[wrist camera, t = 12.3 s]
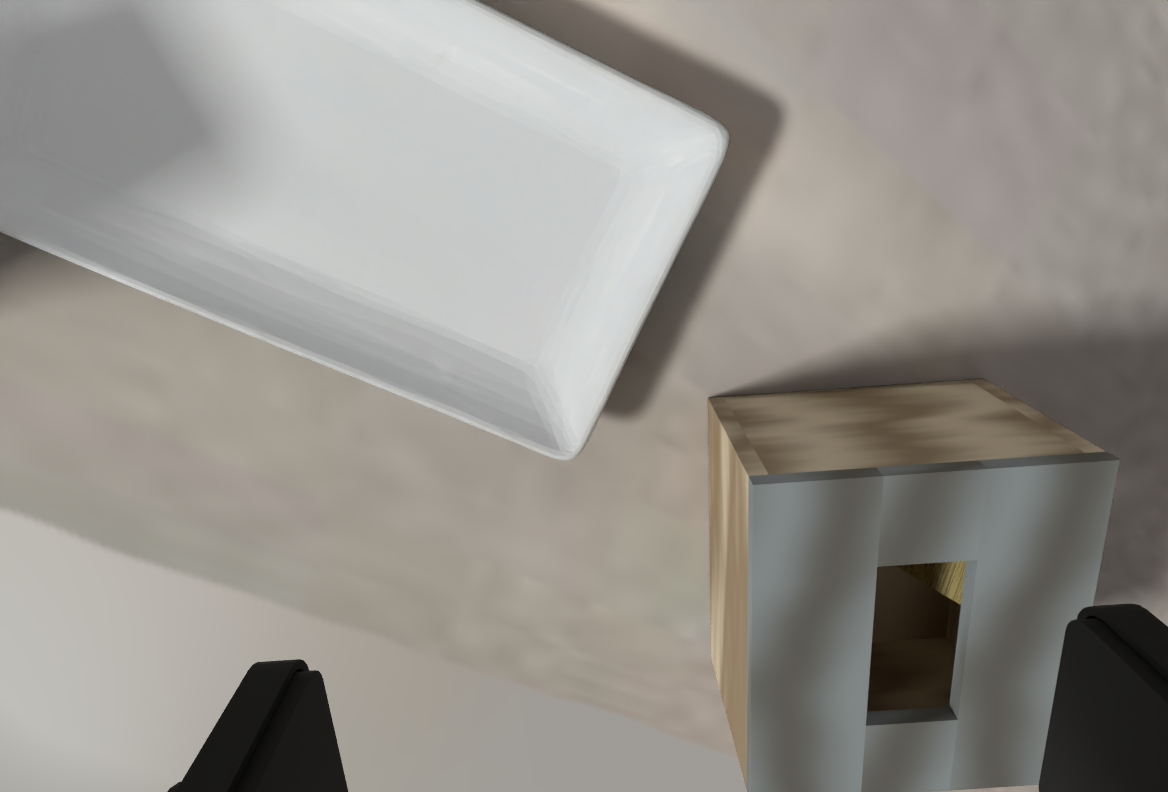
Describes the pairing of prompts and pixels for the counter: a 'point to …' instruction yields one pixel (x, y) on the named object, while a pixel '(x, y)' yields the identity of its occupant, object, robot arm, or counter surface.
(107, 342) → the counter surface
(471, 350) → the tray
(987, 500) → the box
